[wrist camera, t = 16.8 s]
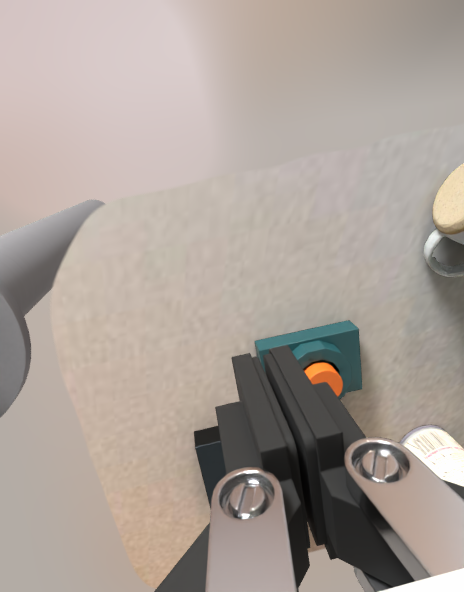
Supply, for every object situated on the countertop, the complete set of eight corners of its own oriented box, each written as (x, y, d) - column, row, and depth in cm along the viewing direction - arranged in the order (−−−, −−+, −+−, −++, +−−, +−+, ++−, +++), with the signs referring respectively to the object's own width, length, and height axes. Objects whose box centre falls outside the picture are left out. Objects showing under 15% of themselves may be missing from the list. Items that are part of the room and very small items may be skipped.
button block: (264, 398, 41) (273, 422, 37) (254, 340, 39) (262, 359, 35) (353, 378, 42) (370, 399, 38) (349, 319, 40) (367, 336, 36)
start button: (301, 397, 37) (307, 408, 36) (297, 365, 36) (303, 375, 35) (337, 389, 38) (344, 399, 36) (334, 357, 37) (341, 366, 35)
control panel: (211, 501, 45) (213, 521, 42) (193, 431, 41) (195, 448, 39) (311, 476, 46) (318, 494, 43) (302, 406, 42) (310, 421, 40)
